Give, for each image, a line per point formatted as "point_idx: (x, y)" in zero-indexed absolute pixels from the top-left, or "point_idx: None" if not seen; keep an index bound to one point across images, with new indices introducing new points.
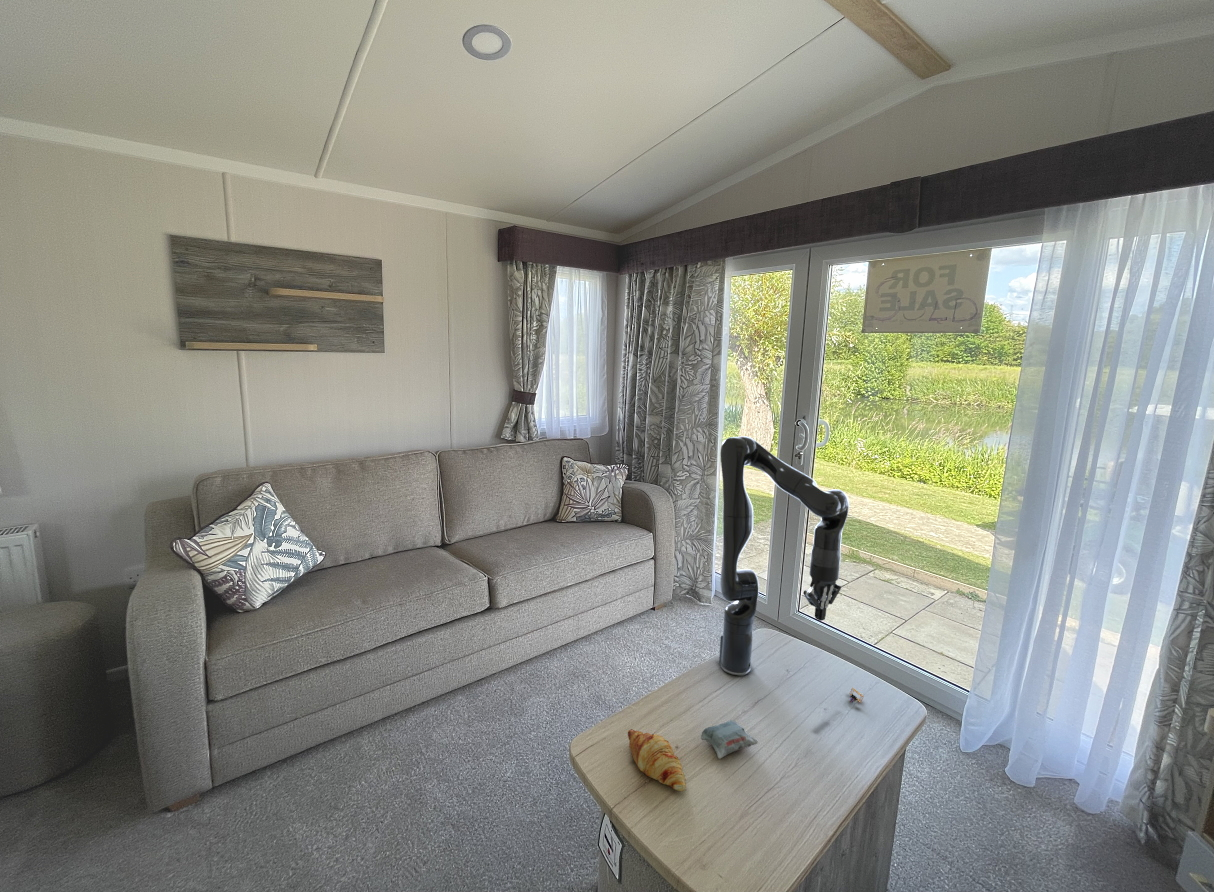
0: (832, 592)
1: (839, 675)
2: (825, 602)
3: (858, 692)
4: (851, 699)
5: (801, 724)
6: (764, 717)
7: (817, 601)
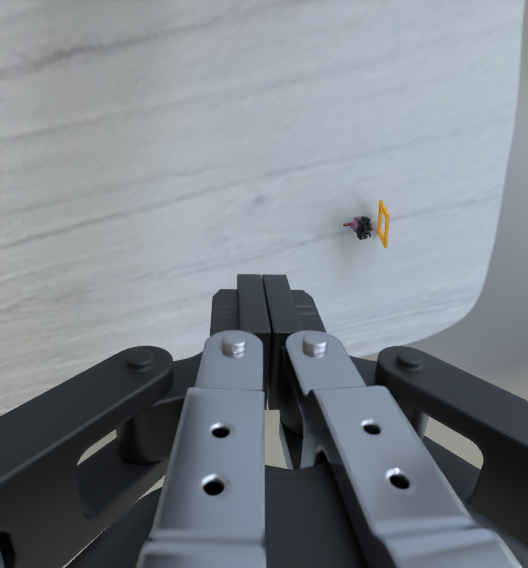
0: (511, 526)
1: (464, 100)
2: (289, 467)
3: (387, 233)
4: (352, 227)
5: (136, 214)
6: (41, 133)
7: (104, 528)
